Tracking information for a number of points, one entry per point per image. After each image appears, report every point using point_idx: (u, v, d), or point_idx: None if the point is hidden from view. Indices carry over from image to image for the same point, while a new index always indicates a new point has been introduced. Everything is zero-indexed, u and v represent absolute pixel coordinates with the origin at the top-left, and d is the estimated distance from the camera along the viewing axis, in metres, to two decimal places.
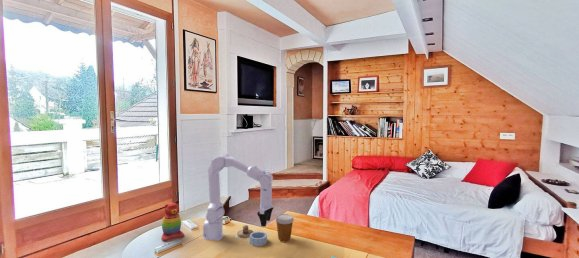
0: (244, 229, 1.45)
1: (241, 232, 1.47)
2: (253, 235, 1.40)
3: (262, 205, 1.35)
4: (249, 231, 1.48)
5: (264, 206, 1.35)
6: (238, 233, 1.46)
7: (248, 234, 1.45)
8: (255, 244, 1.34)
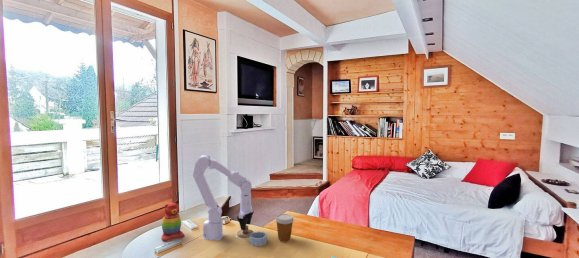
0: None
1: (241, 232, 1.47)
2: (253, 235, 1.40)
3: (242, 210, 1.44)
4: (249, 231, 1.48)
5: (243, 211, 1.43)
6: (238, 233, 1.46)
7: (248, 234, 1.45)
8: (255, 244, 1.34)
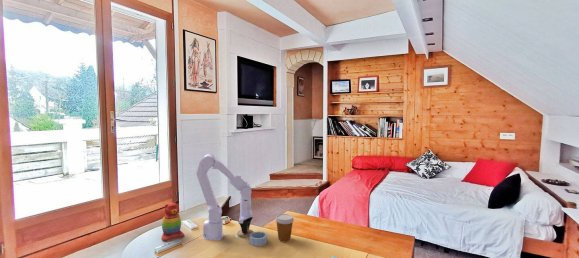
0: None
1: (241, 232, 1.47)
2: (253, 235, 1.40)
3: (242, 215, 1.44)
4: (249, 231, 1.48)
5: (243, 216, 1.43)
6: (238, 233, 1.46)
7: (248, 234, 1.45)
8: (255, 244, 1.34)
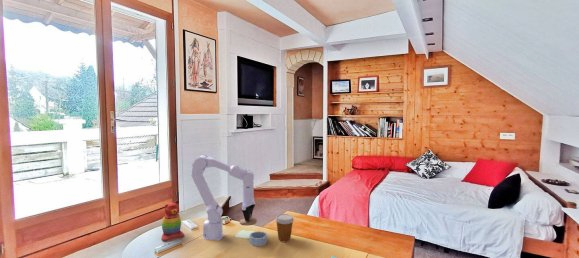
0: None
1: (244, 220, 1.45)
2: (253, 235, 1.40)
3: (244, 202, 1.42)
4: (252, 219, 1.47)
5: (246, 203, 1.41)
6: (241, 221, 1.44)
7: (251, 222, 1.43)
8: (255, 244, 1.34)
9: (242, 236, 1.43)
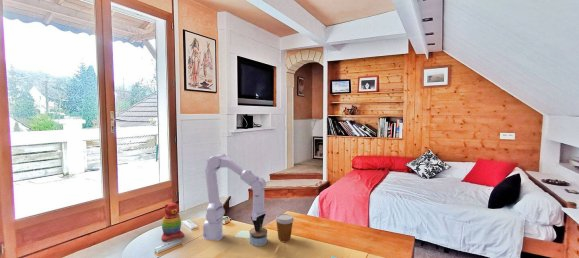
0: None
1: (254, 230, 1.38)
2: None
3: (255, 211, 1.35)
4: (262, 229, 1.39)
5: (257, 212, 1.34)
6: (251, 231, 1.37)
7: (261, 232, 1.36)
8: (255, 244, 1.34)
9: (242, 236, 1.43)
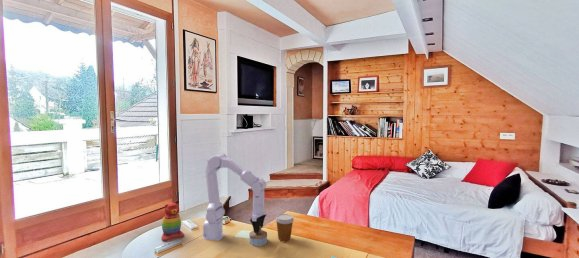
0: None
1: (254, 233, 1.38)
2: None
3: (255, 212, 1.35)
4: (262, 232, 1.39)
5: (256, 213, 1.34)
6: (250, 234, 1.37)
7: (261, 235, 1.35)
8: (255, 244, 1.34)
9: (242, 236, 1.43)
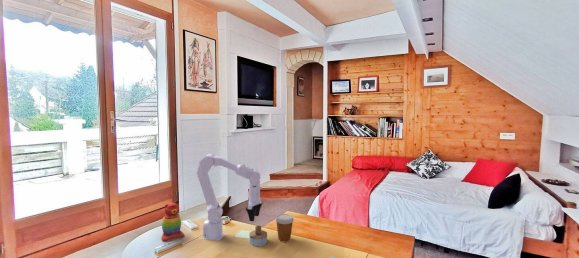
0: (257, 230, 1.36)
1: (254, 233, 1.38)
2: None
3: (250, 201, 1.42)
4: (262, 232, 1.39)
5: (252, 202, 1.42)
6: (250, 234, 1.37)
7: (261, 235, 1.35)
8: (255, 244, 1.34)
9: (242, 236, 1.43)
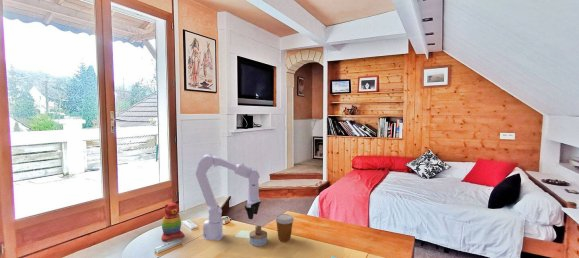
0: (257, 230, 1.36)
1: (254, 233, 1.38)
2: None
3: (249, 199, 1.45)
4: (262, 232, 1.39)
5: (251, 200, 1.44)
6: (250, 234, 1.37)
7: (261, 235, 1.35)
8: (255, 244, 1.34)
9: (242, 236, 1.43)
